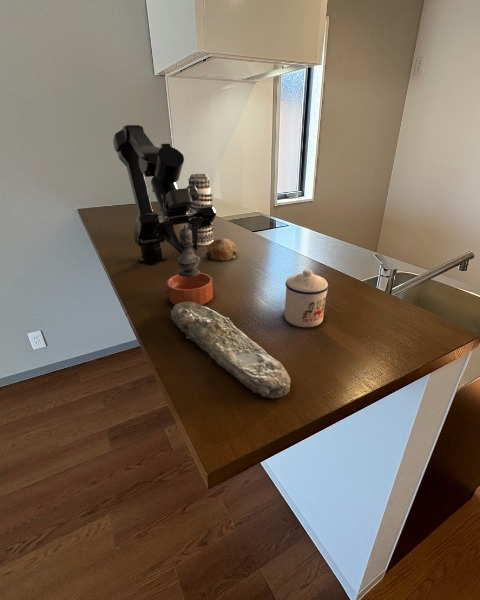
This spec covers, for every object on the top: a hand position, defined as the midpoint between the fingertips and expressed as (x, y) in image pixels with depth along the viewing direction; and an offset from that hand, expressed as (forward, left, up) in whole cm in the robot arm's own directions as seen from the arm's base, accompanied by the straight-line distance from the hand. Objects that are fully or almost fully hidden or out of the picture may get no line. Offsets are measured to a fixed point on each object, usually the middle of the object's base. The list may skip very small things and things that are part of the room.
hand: (189, 251), depth 75 cm
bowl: (-1, +1, -13) cm, 13 cm away
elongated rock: (+18, -13, -13) cm, 26 cm away
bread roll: (-13, +31, -13) cm, 36 cm away
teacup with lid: (+28, +8, -13) cm, 32 cm away
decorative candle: (-29, +41, -13) cm, 52 cm away
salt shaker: (-1, +1, -6) cm, 6 cm away
